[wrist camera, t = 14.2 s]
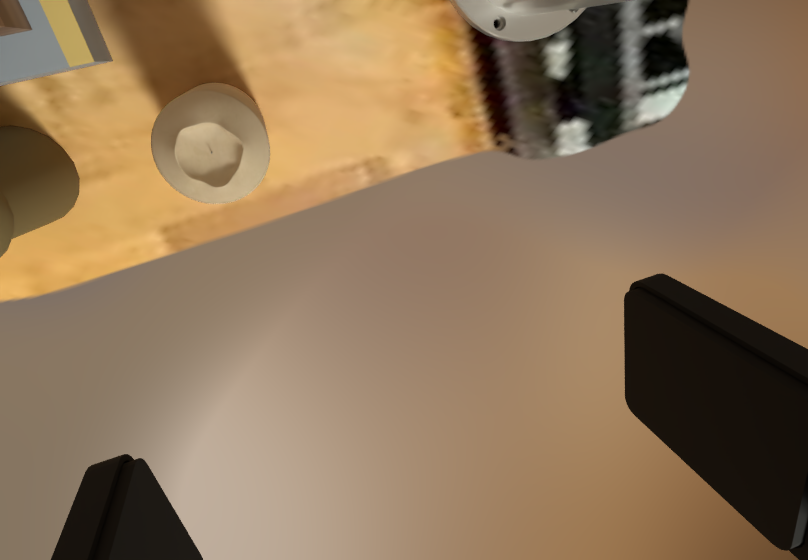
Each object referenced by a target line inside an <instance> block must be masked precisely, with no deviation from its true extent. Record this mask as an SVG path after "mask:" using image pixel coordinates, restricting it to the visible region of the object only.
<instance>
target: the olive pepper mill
mask: <svg viewBox="0 0 808 560" xmlns="http://www.w3.org/2000/svg"><path fill="white" fill-rule="evenodd" d="M78 195H79V176H78V173H77V170H76V167H75V165H74V162H73V161H72V160H71V158H70V157H69V156H68V154H67V153H66V152H65V150H64V149H63V148H62V147H60V146H59V145H58V144H57V143H55V142H54V141H53V140H52V139H50V138H49V137H47V136H45V135H43V134H41V133H38V132H36V131H34V130H32V129H28V128H22V127H16V126H4V127H0V257H1V256H2V255H3V254H4V253H5V252H6V251H7V250H8V247H9V244H10V242H11V239H13V238H15V237H18V236H20V235H23V234H25V233H27V232H30V231H32V230H35V229H37V228H40V227H42V226H44V225H47V224H49V223H51V222H53V221H56V220H58V219H60V218H62V217H64V216H65V215H66V214H67V213H68V212H69V211H70V210H71V209H72V208H73V207H74V205H75V202H76V200H77V197H78Z"/></svg>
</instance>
